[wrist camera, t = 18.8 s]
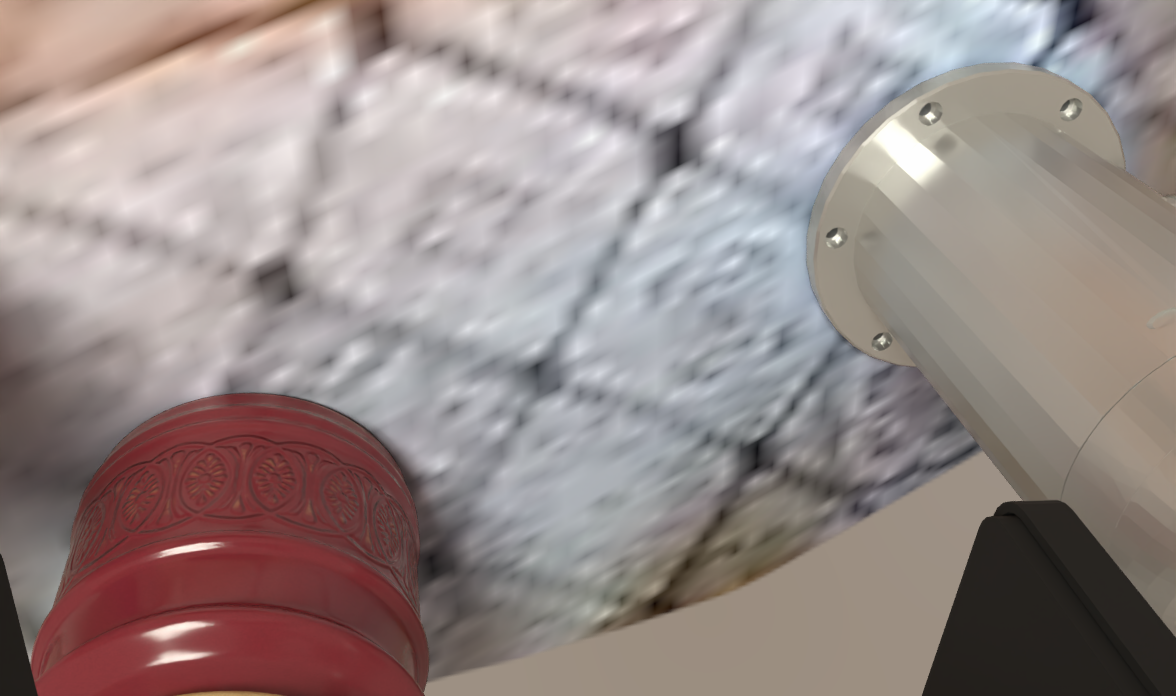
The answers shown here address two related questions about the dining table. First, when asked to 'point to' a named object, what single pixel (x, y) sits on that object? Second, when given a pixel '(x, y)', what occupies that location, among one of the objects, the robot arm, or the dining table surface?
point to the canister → (240, 562)
